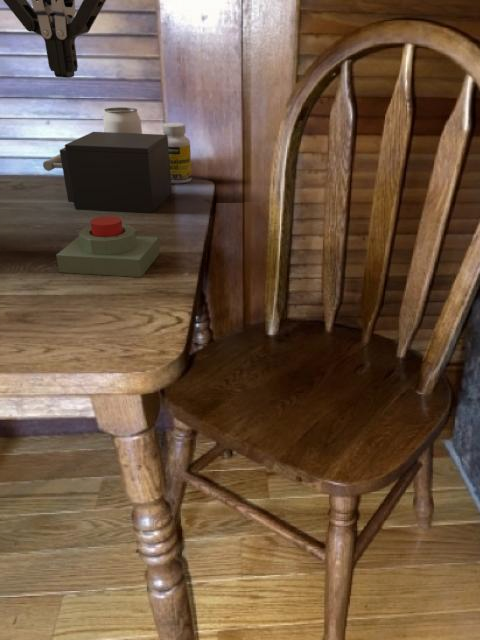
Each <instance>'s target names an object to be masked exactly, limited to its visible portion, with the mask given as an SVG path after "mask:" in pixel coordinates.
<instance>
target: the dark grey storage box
mask: <svg viewBox="0 0 480 640" xmlns="http://www.w3.org/2000/svg"><path fill="white" fill-rule="evenodd" d="M64 148H65V150H66V156H67V162H68V168H69V174H70V180H71V186H72V192H73V198H74V202H73V203H74V209H75V210H86V211H106V212H127V213H143V214H144V213H146V214H154V213H155V212H156V211H157V210H158V209H159V208H160V207H161V206H162V205H163V204H164V203H165V201H166V200H168V198H170V196H172V194H173V189H172V183H171V174H170V161H169V148H168V136H167V135H165V134H158V133H157V134H156V133H142V134H137V133H113V132H105V131H92V132H90V133H87V134H85V135H83V136H80V137H78V138H76V139H74V140H72V141H70V142H67V143H65V144H64Z"/></svg>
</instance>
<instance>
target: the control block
mask: <svg viewBox="0 0 480 640" xmlns="http://www.w3.org/2000/svg"><path fill="white" fill-rule="evenodd" d="M122 229H123V234H121V235H118V236H113V237H95V236H92V230H91V225H89V226H85V227H83V228H82V229H81V230H79V232H78V236H77V237H76V238H75V239H74V240H73V241H71V242H70V243H69V244H67V245H66V246H65V247H64V248H62V249H61V250H60V251H59V252H58V253H56V255H55V256H56V261H57V266H58V272H59V273H62V274H79V275H96V276H97V275H99V276H113V277H114V276H115V277H131V278H143V276H144V275H145V273H146V272H147V271H148V269H150V267H151V266H152V264H153V263H154V262H155V260H156V259H157V258H158V257H159V255H160V244H159V243H160V242H159V237H158V236H157V237H156V236H139V235H137V230H136V229H135V227H133V226H132V225H128V224H125V223H122Z"/></svg>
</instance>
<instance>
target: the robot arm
mask: <svg viewBox="0 0 480 640" xmlns="http://www.w3.org/2000/svg"><path fill="white" fill-rule="evenodd" d="M2 1H3V2H4V4H5V5H6V6H7V8H9V10H10V11H11V12H12V13H13V15H14V16H15V17H16V19H17V20H18V21H19V22H20V23H21V25H22V26H23V27H24V28H25V29H26V31H28V32H31V33H32V32H33V33H36V34H38V35H39V36H40V37H42V39H43V40H44V43H45V50H46V57H47V63H48V68H49V70H50V71H51V72H53V74H54V76H55V78H63V79H65V78H66V79H69V78H74V77H75V72H77V71H78V68H79V65H78V58H77V50H76V38H77V37H79V36H81V35H84V34H87V33H89V32H90V30H91V28H92V27H93V25H94V23H95V21H96V19H97V17H98V15H99V14H100V12H101V10H102V9H103V7H104V5H105V3H106V1H107V0H82V2H81V4H80V6H79V8H78V9H77V11H76V0H31V3H32V5H31V4H30V3H29V2H28V0H2Z"/></svg>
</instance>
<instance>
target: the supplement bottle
mask: <svg viewBox="0 0 480 640" xmlns="http://www.w3.org/2000/svg"><path fill="white" fill-rule="evenodd" d="M186 131H187V130H186V124H185V123H181V122H164V123H162V133H163V135H167V136H168V148H169V161H170V174H171V184H174V185H175V184H176V185H177V184H186V183H189V182H191V181H192V154H191V141H190V139H189V138H188V137H187V136H185V134H186Z"/></svg>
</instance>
